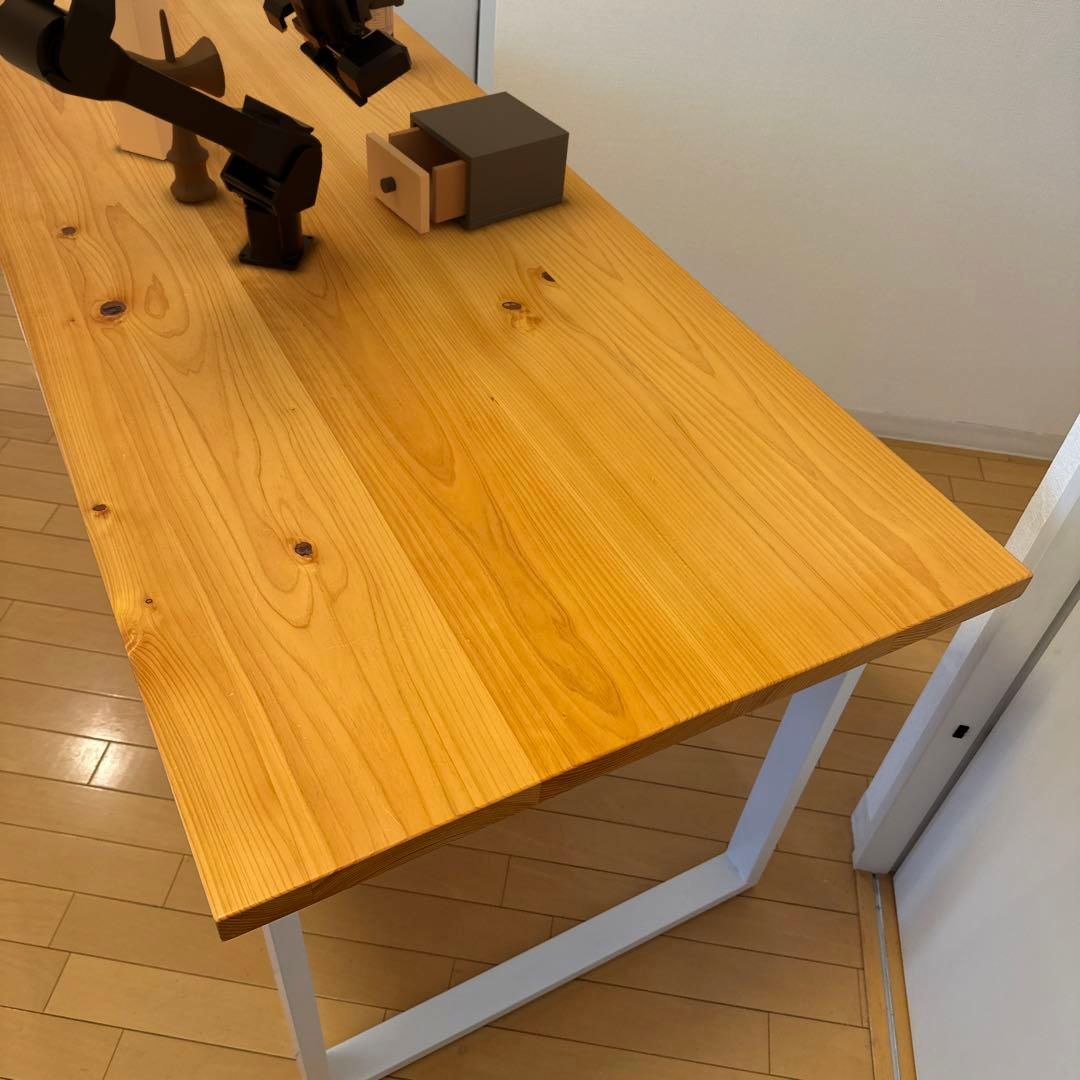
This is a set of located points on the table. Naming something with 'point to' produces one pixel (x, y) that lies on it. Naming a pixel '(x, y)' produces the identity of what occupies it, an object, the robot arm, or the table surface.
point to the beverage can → (381, 20)
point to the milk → (144, 37)
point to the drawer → (417, 177)
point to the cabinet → (501, 155)
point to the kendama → (186, 152)
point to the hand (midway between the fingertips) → (362, 103)
